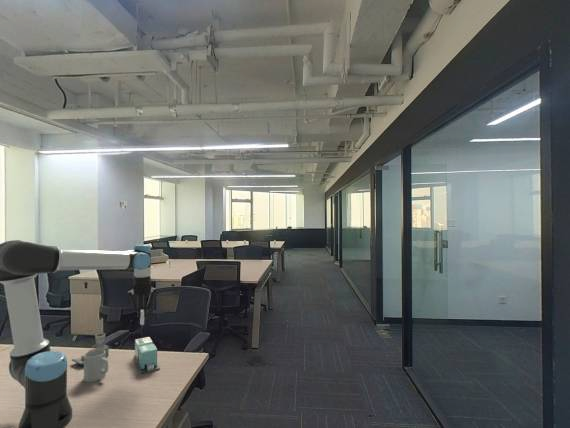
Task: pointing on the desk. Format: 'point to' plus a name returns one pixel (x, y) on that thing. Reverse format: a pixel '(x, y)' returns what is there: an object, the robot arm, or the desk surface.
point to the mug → (95, 365)
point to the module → (147, 355)
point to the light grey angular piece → (138, 344)
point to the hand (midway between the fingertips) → (141, 323)
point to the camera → (99, 345)
